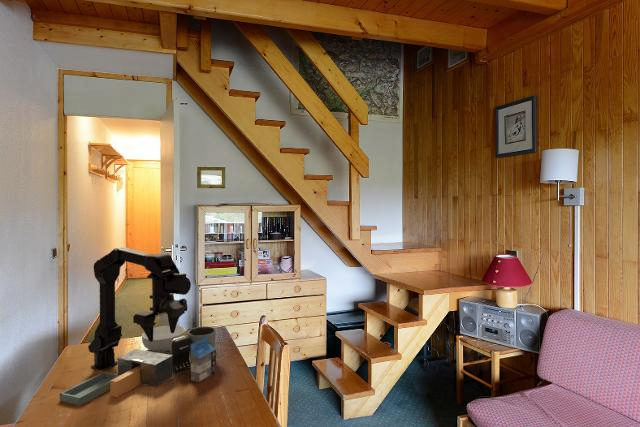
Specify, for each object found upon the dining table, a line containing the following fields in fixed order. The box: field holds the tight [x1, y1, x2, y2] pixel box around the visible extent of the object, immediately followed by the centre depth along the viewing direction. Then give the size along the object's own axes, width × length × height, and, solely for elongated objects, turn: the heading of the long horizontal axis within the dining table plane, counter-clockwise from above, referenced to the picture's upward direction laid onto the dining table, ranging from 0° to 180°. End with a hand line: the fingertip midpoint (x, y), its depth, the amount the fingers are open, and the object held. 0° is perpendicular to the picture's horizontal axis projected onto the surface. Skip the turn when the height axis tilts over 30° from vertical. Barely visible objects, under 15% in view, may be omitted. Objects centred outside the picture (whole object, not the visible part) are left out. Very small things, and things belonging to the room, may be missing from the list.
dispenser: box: [116, 348, 174, 388], centre depth 140 cm, size 16×8×8 cm, turn 70°
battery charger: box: [169, 335, 191, 373], centre depth 147 cm, size 7×4×11 cm, turn 139°
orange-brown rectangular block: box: [110, 365, 141, 398], centre depth 133 cm, size 2×12×5 cm, turn 160°
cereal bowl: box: [141, 325, 187, 353], centre depth 167 cm, size 17×17×7 cm
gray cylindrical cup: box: [187, 325, 216, 365], centre depth 153 cm, size 10×10×12 cm
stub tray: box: [59, 371, 120, 407], centre depth 131 cm, size 8×16×2 cm, turn 160°
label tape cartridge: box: [190, 337, 217, 383], centre depth 141 cm, size 9×4×12 cm, turn 155°
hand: (162, 337), depth 139 cm, fingers open, 9 cm apart
